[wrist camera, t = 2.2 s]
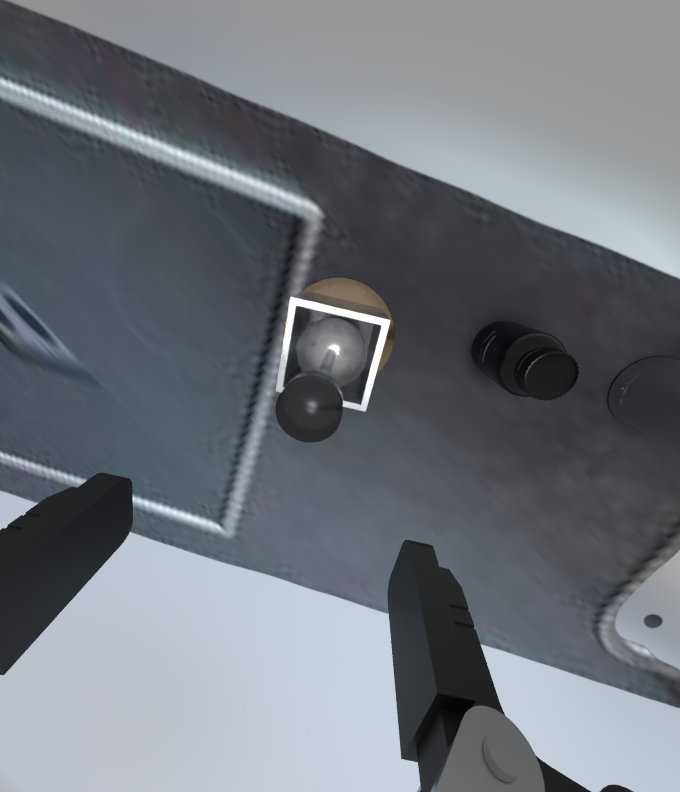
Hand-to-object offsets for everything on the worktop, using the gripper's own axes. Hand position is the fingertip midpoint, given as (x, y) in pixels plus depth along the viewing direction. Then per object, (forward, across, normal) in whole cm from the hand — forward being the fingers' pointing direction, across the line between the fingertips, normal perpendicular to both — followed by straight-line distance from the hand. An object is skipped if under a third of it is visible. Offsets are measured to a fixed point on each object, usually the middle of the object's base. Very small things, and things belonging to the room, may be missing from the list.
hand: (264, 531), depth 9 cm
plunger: (+24, 0, 0) cm, 24 cm away
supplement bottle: (+34, -20, -3) cm, 39 cm away
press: (+34, 0, 0) cm, 34 cm away
